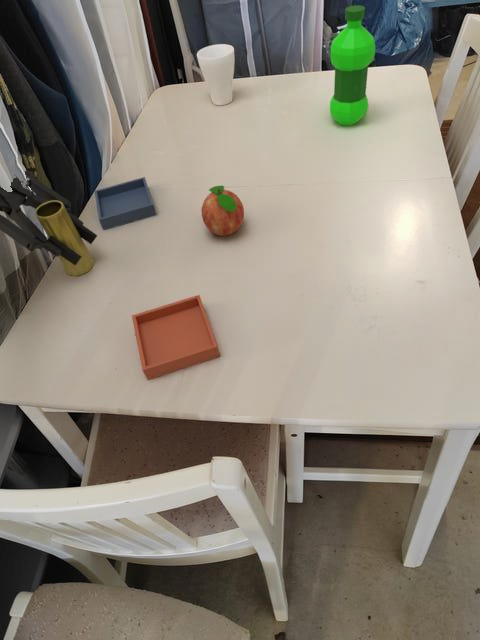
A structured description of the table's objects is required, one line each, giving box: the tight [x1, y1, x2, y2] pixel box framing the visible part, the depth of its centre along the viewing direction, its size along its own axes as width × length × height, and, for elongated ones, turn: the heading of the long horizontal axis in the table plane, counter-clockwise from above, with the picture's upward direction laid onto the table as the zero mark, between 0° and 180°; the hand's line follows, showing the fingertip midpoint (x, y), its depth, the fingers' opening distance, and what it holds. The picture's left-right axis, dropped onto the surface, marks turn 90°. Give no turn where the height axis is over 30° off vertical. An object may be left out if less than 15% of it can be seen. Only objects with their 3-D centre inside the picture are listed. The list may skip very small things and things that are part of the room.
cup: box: [196, 43, 236, 106], centre depth 127 cm, size 10×10×14 cm
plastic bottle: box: [329, 5, 376, 127], centre depth 106 cm, size 10×10×25 cm
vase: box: [34, 200, 95, 277], centre depth 86 cm, size 6×6×14 cm
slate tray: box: [94, 176, 157, 231], centre depth 101 cm, size 12×12×3 cm
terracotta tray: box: [131, 294, 221, 380], centre depth 74 cm, size 12×12×3 cm
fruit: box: [201, 185, 245, 237], centre depth 89 cm, size 9×10×10 cm
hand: (86, 250), depth 86 cm, fingers closed on vase, 5 cm apart
